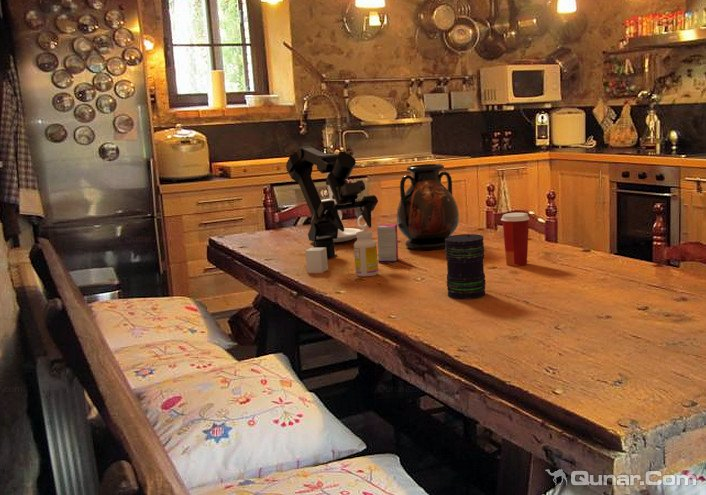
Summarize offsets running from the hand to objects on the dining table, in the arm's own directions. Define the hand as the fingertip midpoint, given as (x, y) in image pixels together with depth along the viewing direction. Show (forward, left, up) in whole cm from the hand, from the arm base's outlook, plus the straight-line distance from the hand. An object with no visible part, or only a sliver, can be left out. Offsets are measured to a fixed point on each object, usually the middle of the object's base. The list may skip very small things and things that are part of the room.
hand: (357, 228), depth 232 cm
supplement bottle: (+6, -4, -13) cm, 15 cm away
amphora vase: (-1, +40, -13) cm, 42 cm away
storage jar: (+45, -13, -13) cm, 49 cm away
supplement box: (0, +15, -13) cm, 20 cm away
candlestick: (-40, +39, -13) cm, 57 cm away
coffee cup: (+40, +25, -13) cm, 49 cm away
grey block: (-12, -6, -13) cm, 19 cm away
